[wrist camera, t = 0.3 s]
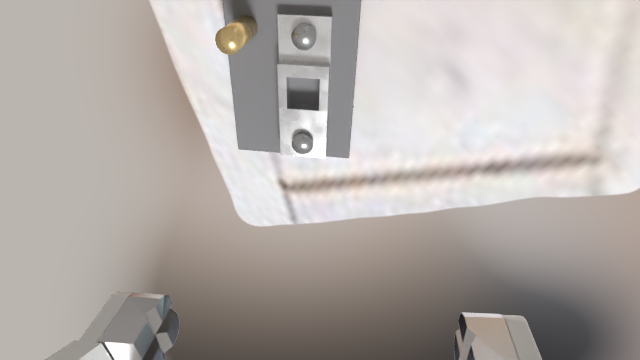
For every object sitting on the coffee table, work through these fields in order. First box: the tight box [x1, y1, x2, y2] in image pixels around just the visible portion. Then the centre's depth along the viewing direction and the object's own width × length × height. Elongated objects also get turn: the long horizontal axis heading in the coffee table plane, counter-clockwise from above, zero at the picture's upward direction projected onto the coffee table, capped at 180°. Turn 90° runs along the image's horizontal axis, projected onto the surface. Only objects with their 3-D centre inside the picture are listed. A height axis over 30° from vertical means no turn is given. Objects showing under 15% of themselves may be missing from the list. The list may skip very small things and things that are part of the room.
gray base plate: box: [222, 0, 361, 158], centre depth 54 cm, size 24×18×1 cm
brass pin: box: [215, 15, 258, 55], centre depth 47 cm, size 3×3×8 cm
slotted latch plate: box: [277, 13, 333, 158], centre depth 53 cm, size 20×7×3 cm, turn 179°
